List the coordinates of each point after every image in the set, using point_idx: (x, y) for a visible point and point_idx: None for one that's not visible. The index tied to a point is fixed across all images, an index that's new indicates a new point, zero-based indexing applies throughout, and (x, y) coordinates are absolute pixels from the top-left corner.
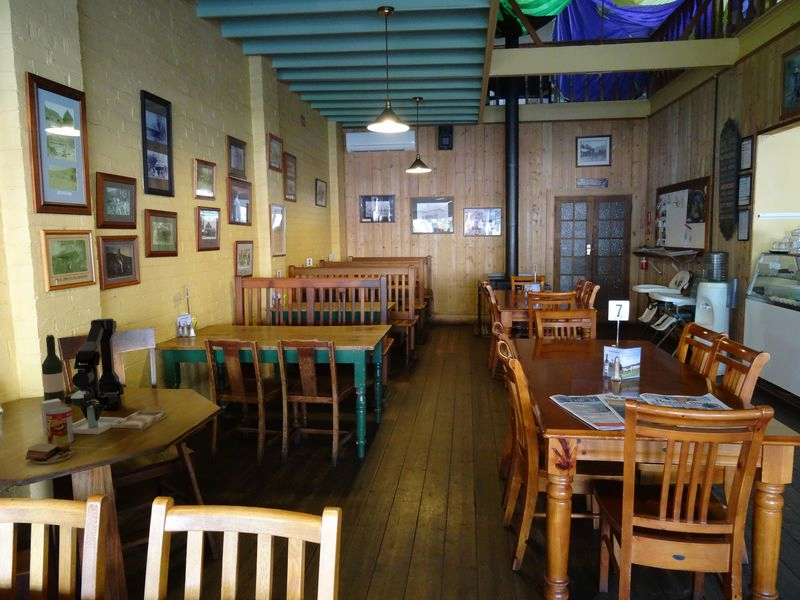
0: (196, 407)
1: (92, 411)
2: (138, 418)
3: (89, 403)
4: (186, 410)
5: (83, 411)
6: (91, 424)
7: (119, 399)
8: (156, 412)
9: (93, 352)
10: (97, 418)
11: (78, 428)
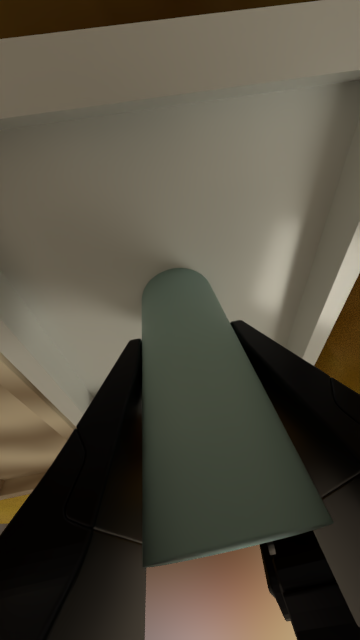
0: (12, 512)
1: (159, 446)
2: (50, 443)
3: (346, 574)
4: (6, 502)
5: (341, 403)
6: (162, 290)
7: None
8: (29, 486)
9: None
10: (120, 364)
11: (277, 237)
